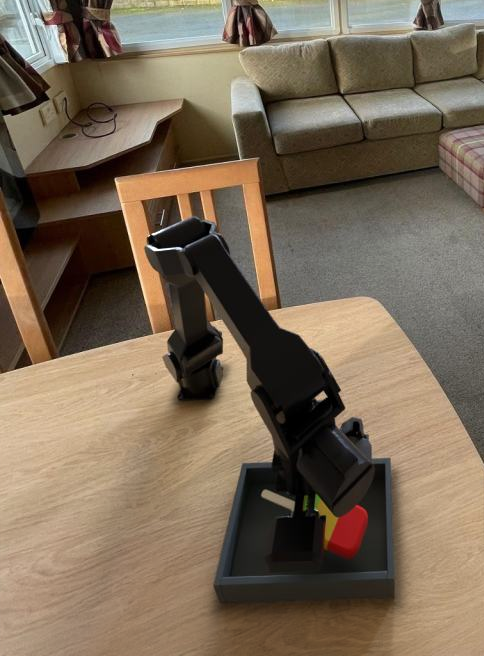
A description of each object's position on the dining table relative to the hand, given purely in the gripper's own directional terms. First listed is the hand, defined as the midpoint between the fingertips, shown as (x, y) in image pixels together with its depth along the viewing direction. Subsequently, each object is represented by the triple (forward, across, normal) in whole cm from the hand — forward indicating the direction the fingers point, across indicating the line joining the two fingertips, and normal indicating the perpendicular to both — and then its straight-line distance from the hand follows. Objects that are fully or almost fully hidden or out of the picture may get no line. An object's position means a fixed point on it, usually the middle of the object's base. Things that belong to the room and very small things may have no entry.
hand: (309, 512), depth 64 cm
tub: (+5, 0, 0) cm, 5 cm away
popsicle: (+1, 0, 0) cm, 1 cm away
